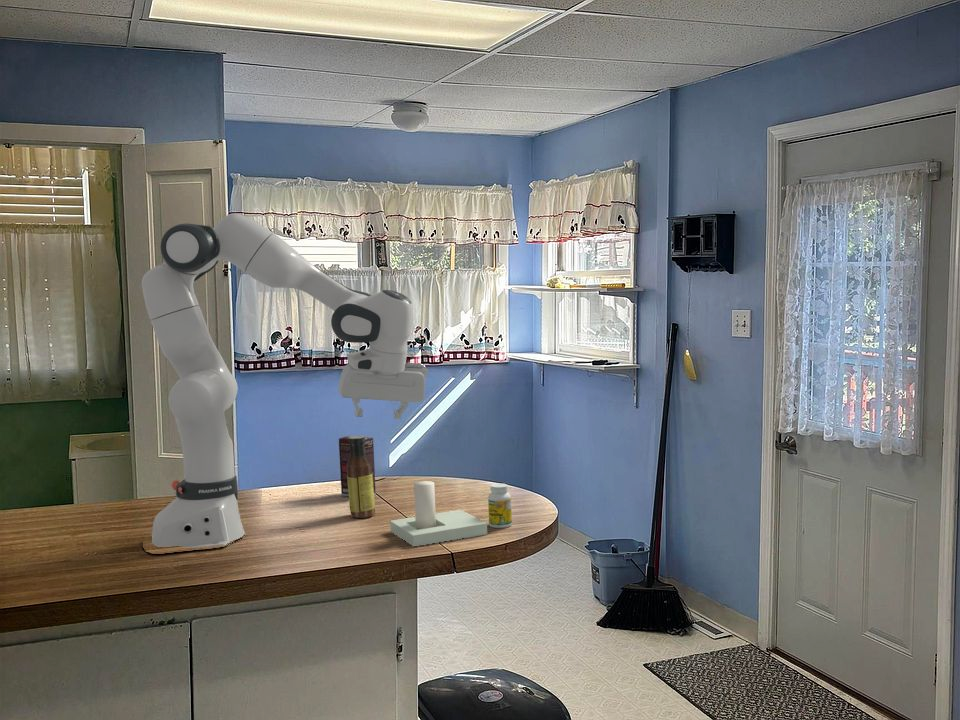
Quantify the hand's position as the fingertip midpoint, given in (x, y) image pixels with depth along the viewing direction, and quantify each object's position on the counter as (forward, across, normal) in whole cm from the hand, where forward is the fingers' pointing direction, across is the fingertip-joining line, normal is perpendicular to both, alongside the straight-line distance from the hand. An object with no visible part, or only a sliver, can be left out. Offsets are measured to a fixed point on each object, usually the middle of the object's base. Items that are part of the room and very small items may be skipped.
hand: (377, 417), depth 217 cm
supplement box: (+31, -5, -25) cm, 40 cm away
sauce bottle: (+28, -1, -5) cm, 28 cm away
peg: (+22, -10, +18) cm, 30 cm away
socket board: (+21, -13, +17) cm, 30 cm away
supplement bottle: (+19, -28, +17) cm, 38 cm away
